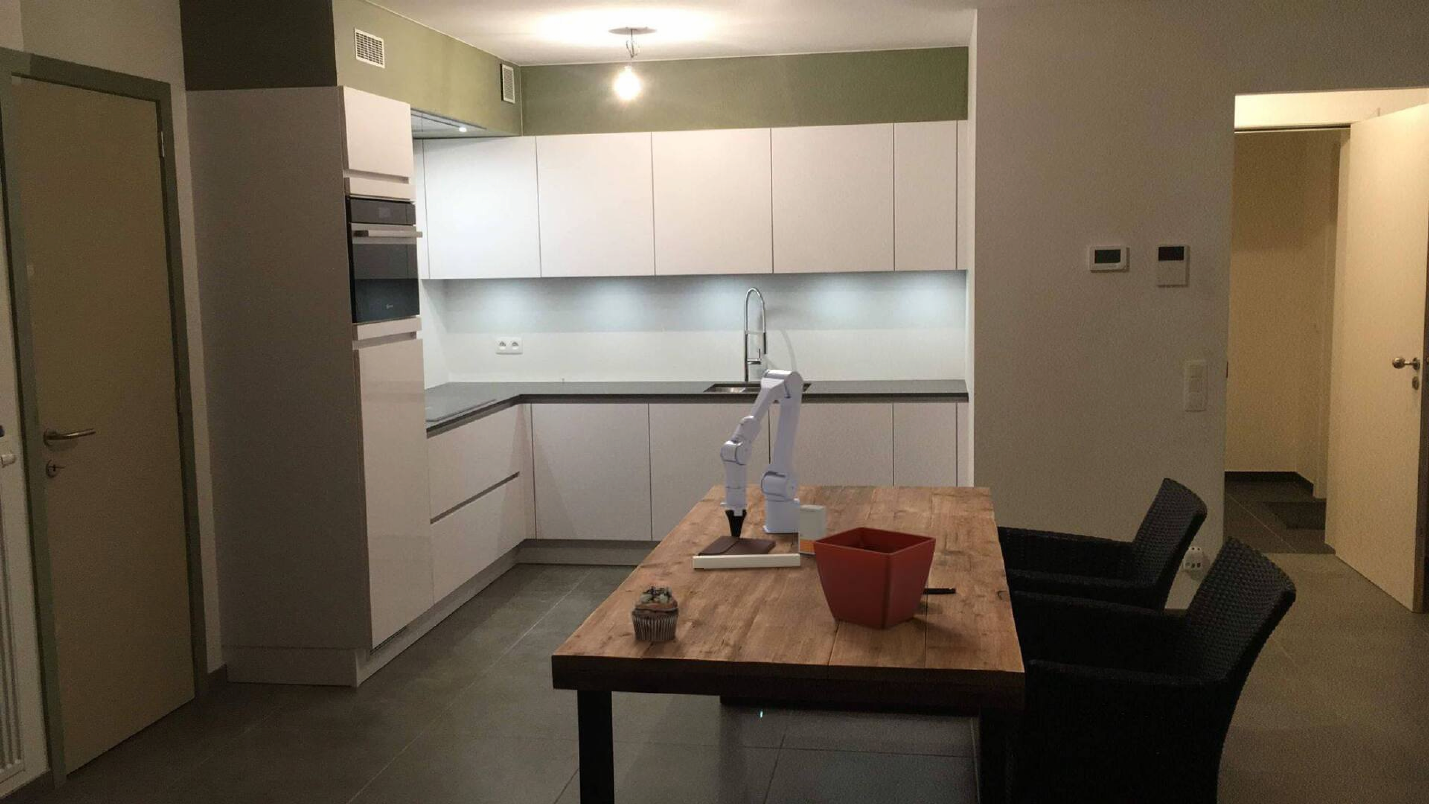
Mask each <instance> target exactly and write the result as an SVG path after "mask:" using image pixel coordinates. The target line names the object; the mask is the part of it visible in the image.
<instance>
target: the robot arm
mask: <svg viewBox="0 0 1429 804" xmlns="http://www.w3.org/2000/svg"><path fill="white" fill-rule="evenodd" d="M804 384H805V380H804V379H803V377H802V375H801V374H800V373H799V372H798V371H796V370H781V369H773V368H769V369H766V371H764V374H763V375H762V379H761V380H760V388H761V389H760V391H759V393H758V395H757V397H756V399H755V401H754V403H753V406H752V408H751V410H750V412H749V414H748V416H745V417H742V419H740V421H739V422H738V423H739V424H738V425H737V427H736V429H735V430H734V431H733V432H734V433H733V434H732V436H731V438H730V440H727V441H726V442H725V443H723V445H722V446H721V449H720V451H719V458H720V459H721V462H722V467H723V469H724V502H720V505H719V506H720V507H725V508H727V509H725V510H724V512H725V515H726V517H727V520H728V525H729V529H730V536H735V537H739V538H741V534H742V529H743V525H744V521H745V518H746V517H747V514H748V512H747V510H746V507H748V502H747V499H748V498H747V490H748V489H747V463H748V462H749V461H750V460H751V459H752V453H753V452H752V451H753V447H754V446H753V444H754V443H755V441H756V439H757V437H758V435H759V434H760V432H761V430H762V425H761V421H762V420H763V418H764V417H765V415H766V414H767V412H768V411H769V409H770V408H771V406H772V405H773V404H774V402H775V401H777V402H778V403H779V405H780V409H779V415H778V420H777V428H776V432H775V433H776V435H775V441H774V448H773V454H772V460H771V462H770V463H769V464H767V465H766V466H765V467H764V468H763V473H762V476H761V478H760V480H759V489H760V492H761V493H762V494H763V498H765V525H763V526H762V527H763V529H764V532H765V533H766V534H791V533H793V534H794V533H798V529H799V507H800V506H801V501H800V498H795V497H796V496H797V494H798V493H799V492H798V491H799V485H800V484H799V472H798V470H797V469H796V468H795V467H794V466H793V458H794V452H795V444H796V440H797V434H798V427H799V426H798V425H799V419H800V415H801V414H800V413H801V408H802V407H801V406H802V396H803V390H804Z"/></svg>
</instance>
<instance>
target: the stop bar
mask: <svg viewBox="0 0 1429 804" xmlns="http://www.w3.org/2000/svg"><path fill="white" fill-rule="evenodd" d="M800 554H801V553H773V554H772V553H771V554H769V553H768V554H767V553H766V554H764V555H723V556H698V555H693V556H692V569H694V568H704V569H733V568H734V569H736V568H742V569H743V568H772V567H773V568H775V567H776V568H777V567H778V568H780V567H800V566H801V555H800Z"/></svg>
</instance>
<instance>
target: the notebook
mask: <svg viewBox="0 0 1429 804" xmlns="http://www.w3.org/2000/svg"><path fill="white" fill-rule="evenodd" d="M775 545H776V539H766V538H752V537H735V536H731V535H720V536H719V537H718V538H717V539H715V540H714V541H713V542H711V543H710V544H709V545H708V546H706V547H705V548H704V549H702V550H701V551H699V552H698V555H697V556H723V555H764V554H765V553H766V554H767V553H768V552H769V551H770V550H771V549H772V548H774V546H775Z"/></svg>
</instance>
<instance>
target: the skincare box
mask: <svg viewBox="0 0 1429 804" xmlns="http://www.w3.org/2000/svg"><path fill="white" fill-rule="evenodd" d="M826 530H827V506H825V505H816V504H802V505H800V507H799V529H798V538H797V539H798V543H797V544H798V546H797V549H798V550H797V551H798V553H797V554H807V555H814V556H815V553H814V546H813V541H814V540H818V539H821V538H824V537H827V531H826Z"/></svg>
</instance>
